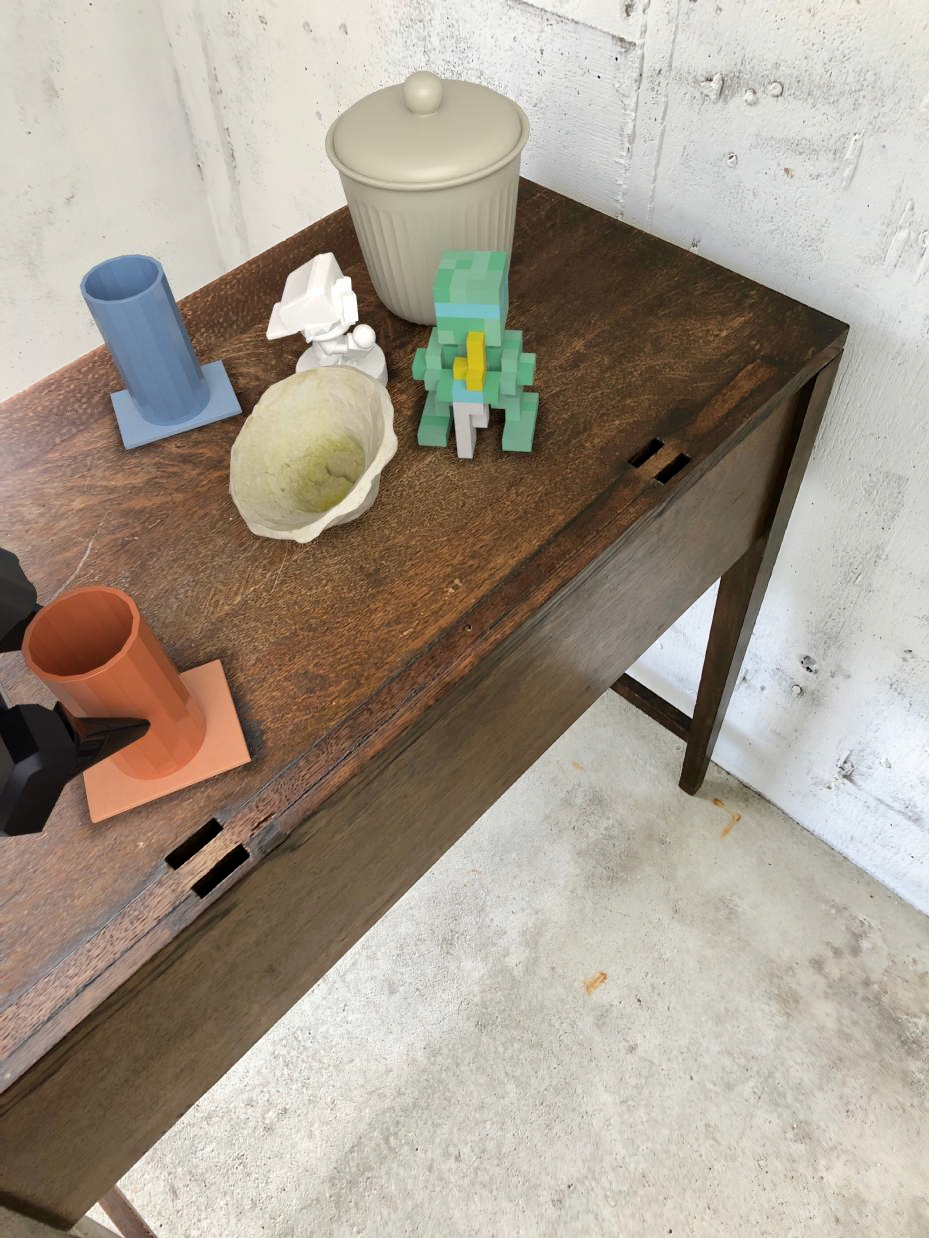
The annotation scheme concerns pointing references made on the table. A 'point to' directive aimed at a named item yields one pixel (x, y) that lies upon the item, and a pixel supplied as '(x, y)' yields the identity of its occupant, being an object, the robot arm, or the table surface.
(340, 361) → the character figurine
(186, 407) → the blue cup
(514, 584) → the table surface
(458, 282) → the toy
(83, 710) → the terracotta cup
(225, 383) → the blue mat
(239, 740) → the peach mat
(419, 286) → the canister
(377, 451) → the bowl
